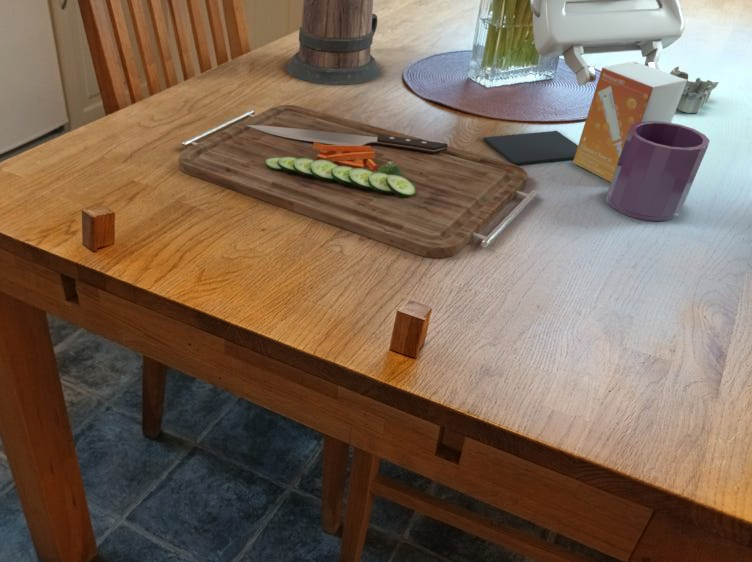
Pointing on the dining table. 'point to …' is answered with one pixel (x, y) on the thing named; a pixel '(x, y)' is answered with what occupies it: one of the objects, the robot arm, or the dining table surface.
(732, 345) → the dining table surface
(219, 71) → the dining table surface
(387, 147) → the chopping board
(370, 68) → the tankard
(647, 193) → the plum cup
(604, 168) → the small box
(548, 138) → the coaster pad
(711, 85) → the egg carton
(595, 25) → the robot arm
